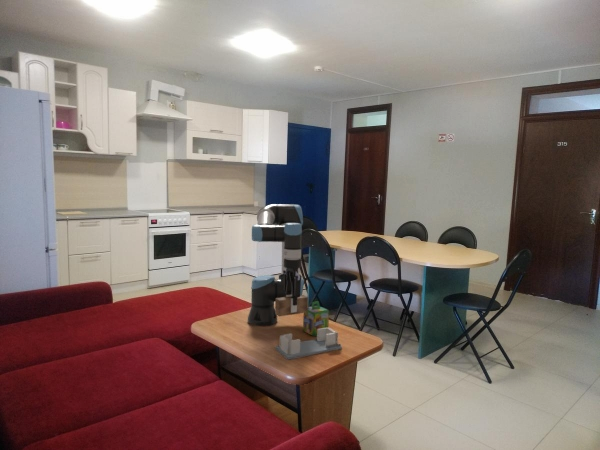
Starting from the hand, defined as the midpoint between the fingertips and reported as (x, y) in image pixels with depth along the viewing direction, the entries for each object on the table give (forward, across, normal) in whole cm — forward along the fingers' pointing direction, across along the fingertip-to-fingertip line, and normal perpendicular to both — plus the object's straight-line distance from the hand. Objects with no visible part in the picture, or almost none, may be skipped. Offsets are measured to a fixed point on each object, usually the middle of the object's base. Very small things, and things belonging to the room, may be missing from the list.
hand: (291, 310), depth 177 cm
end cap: (+14, +9, +13) cm, 21 cm away
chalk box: (+15, -7, +17) cm, 24 cm away
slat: (+1, 0, 0) cm, 1 cm away
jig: (+15, +9, +4) cm, 18 cm away
